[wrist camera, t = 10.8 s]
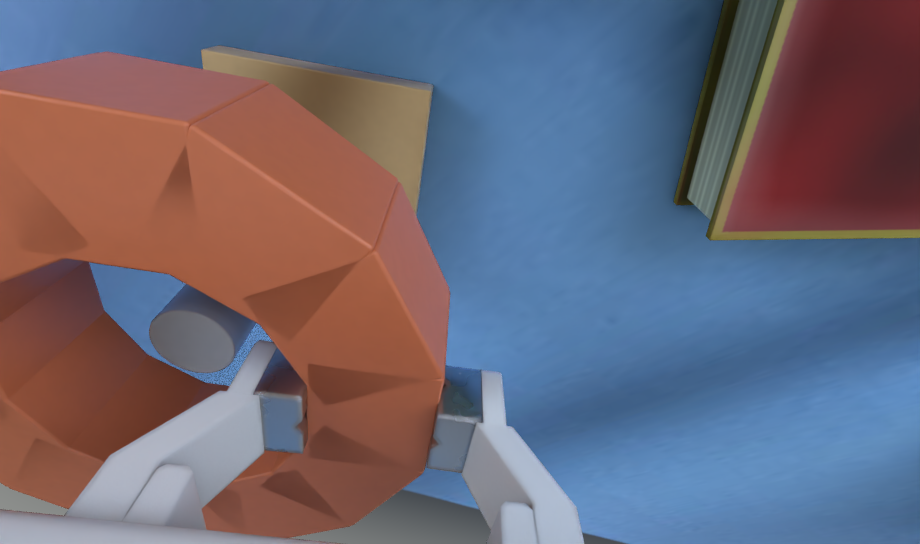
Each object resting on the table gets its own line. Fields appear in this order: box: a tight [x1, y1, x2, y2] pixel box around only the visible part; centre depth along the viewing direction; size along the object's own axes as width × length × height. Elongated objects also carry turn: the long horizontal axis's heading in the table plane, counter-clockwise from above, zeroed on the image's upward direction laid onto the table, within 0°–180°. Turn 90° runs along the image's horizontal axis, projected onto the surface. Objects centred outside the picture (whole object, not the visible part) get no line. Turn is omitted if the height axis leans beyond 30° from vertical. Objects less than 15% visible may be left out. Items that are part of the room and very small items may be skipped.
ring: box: [0, 52, 450, 538], centre depth 11 cm, size 12×12×3 cm
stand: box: [149, 45, 433, 373], centre depth 16 cm, size 9×9×12 cm
